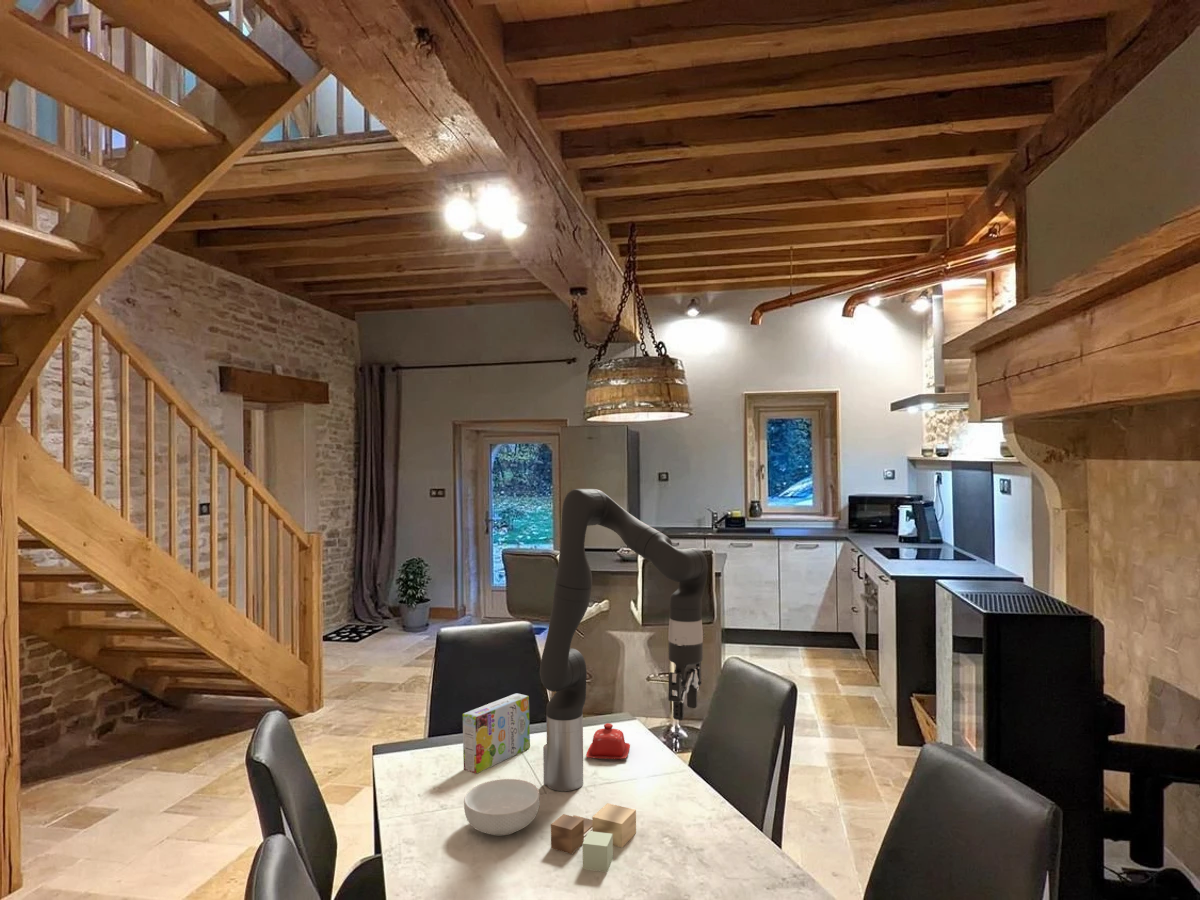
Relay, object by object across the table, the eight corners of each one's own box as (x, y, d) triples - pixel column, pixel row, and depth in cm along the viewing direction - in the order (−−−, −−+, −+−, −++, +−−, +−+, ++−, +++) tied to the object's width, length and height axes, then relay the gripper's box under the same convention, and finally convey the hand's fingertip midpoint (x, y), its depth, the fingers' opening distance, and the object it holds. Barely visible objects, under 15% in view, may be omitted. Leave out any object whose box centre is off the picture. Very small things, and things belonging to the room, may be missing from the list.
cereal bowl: (456, 817, 158) (456, 786, 159) (526, 803, 165) (526, 773, 165) (473, 854, 143) (473, 819, 143) (550, 837, 149) (550, 803, 150)
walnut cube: (551, 848, 145) (550, 824, 145) (563, 837, 149) (563, 814, 149) (571, 854, 142) (571, 829, 142) (583, 843, 147) (583, 819, 147)
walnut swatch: (557, 829, 152) (557, 827, 152) (573, 816, 158) (573, 814, 158) (584, 836, 149) (584, 834, 149) (599, 823, 155) (599, 820, 155)
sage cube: (582, 869, 137) (582, 843, 137) (589, 855, 142) (588, 830, 142) (607, 872, 136) (607, 846, 136) (613, 858, 141) (612, 833, 141)
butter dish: (591, 745, 201) (591, 716, 201) (631, 747, 199) (630, 717, 200) (584, 761, 189) (584, 730, 190) (626, 763, 188) (626, 731, 188)
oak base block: (592, 840, 148) (592, 816, 148) (607, 826, 154) (607, 803, 154) (622, 848, 145) (621, 824, 145) (636, 833, 151) (635, 809, 151)
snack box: (516, 744, 202) (516, 692, 203) (530, 748, 199) (530, 695, 199) (462, 769, 185) (461, 712, 185) (476, 774, 181) (476, 716, 182)
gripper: (681, 630, 161) (681, 701, 161) (657, 644, 149) (657, 720, 148) (712, 634, 158) (712, 706, 158) (690, 648, 145) (690, 726, 145)
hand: (685, 713), depth 153 cm, fingers open, 8 cm apart
